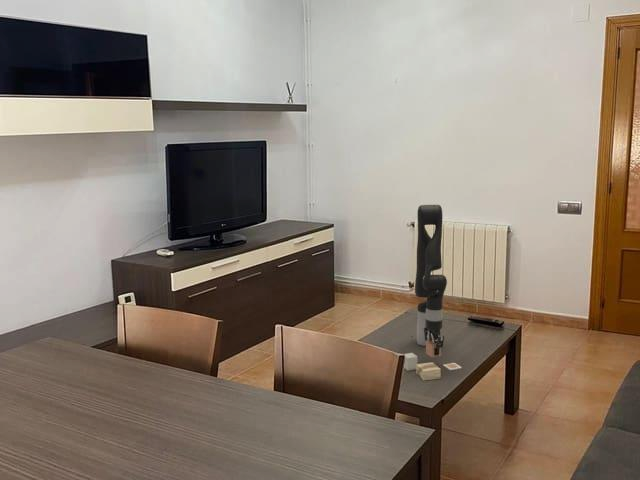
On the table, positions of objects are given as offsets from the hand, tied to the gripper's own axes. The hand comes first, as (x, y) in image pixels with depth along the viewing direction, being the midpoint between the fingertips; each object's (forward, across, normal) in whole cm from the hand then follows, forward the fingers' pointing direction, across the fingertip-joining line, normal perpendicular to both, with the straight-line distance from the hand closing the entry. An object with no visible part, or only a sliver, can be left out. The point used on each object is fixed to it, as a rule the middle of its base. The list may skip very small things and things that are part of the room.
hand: (433, 352), depth 283 cm
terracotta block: (+1, 0, 0) cm, 1 cm away
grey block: (+6, +2, +11) cm, 13 cm away
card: (+6, -6, -7) cm, 10 cm away
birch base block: (+6, -9, +8) cm, 14 cm away
